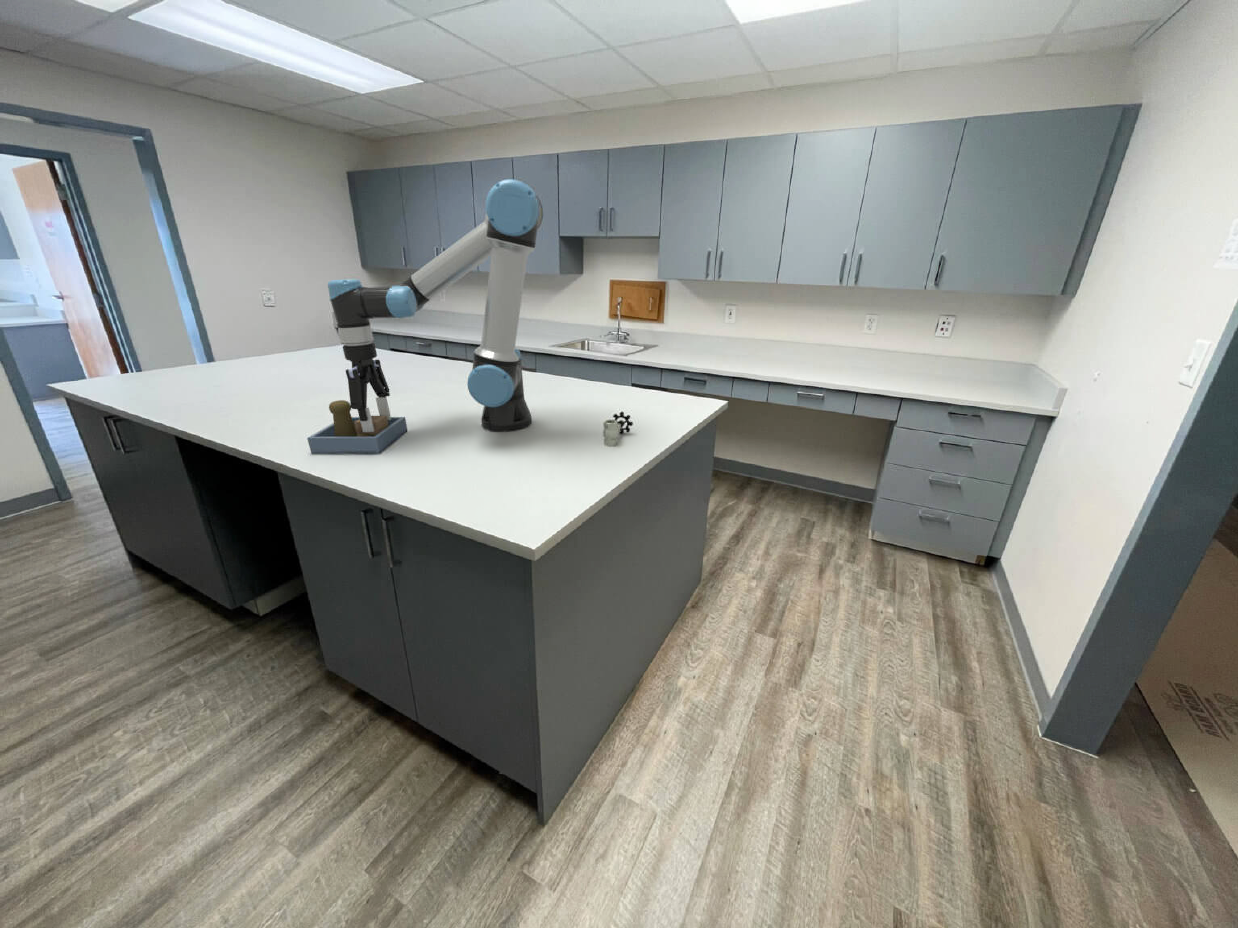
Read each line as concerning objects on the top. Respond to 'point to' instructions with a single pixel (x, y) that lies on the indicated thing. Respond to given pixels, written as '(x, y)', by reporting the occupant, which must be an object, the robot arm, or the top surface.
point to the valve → (615, 429)
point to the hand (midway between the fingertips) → (377, 425)
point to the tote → (357, 440)
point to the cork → (342, 419)
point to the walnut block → (378, 424)
